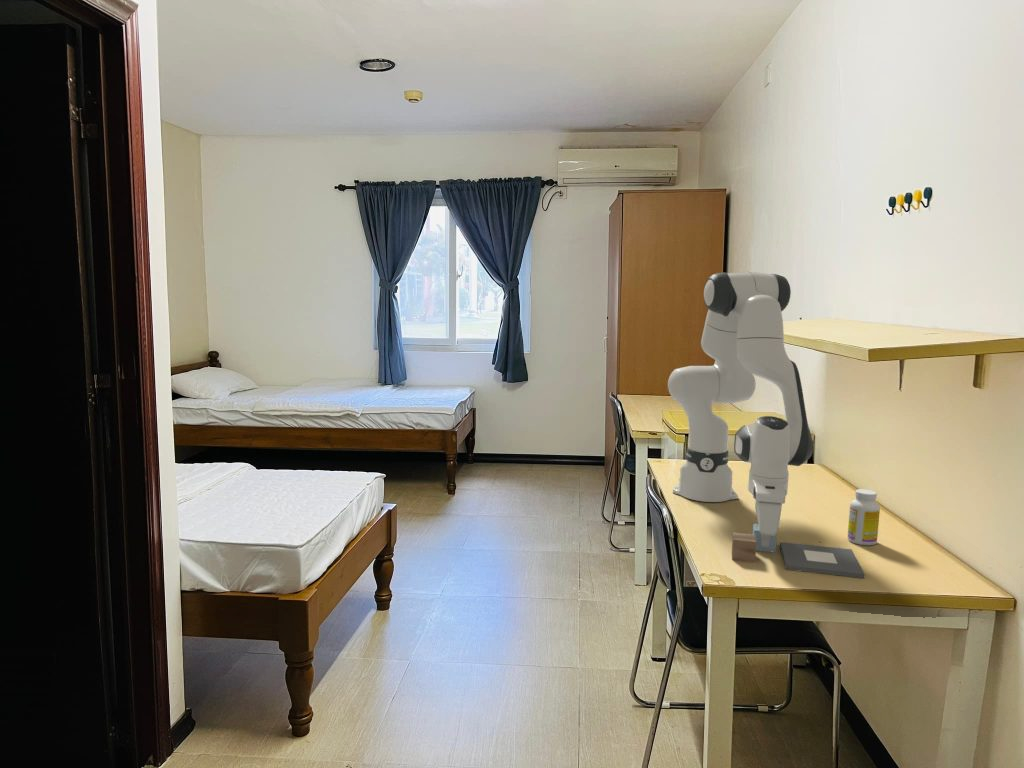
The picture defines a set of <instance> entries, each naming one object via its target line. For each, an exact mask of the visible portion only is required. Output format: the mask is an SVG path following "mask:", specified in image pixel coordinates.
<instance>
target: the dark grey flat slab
mask: <svg viewBox="0 0 1024 768" xmlns="http://www.w3.org/2000/svg"><path fill="white" fill-rule="evenodd" d="M780 547H781V548H780ZM779 548H780V551H782V552H781V555H782V559H783V563H784V566H785V570H788V569H791V570H790V571H796V570H801V571H800V572H805V571H809V572H808V573H813V572H815V573H816V574H822V573H823V575H831V574H832V575H833V574H834V575H833V576H839V575H840V576H842V577H848V578H858V579H865V572H864V570H863V568H862V567H861V564H860V562H859V561H858V559H857V556H856V555H855V552H854V551H853V549H851V548H844V547H843V548H841V547H833V546H832V547H831V546H825V545H824V546H822V545H815V544H814V545H813V544H806V543H805V544H803V543H795V542H787V541H780V542H779ZM832 575H831V576H832ZM840 576H839V577H840Z"/></svg>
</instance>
